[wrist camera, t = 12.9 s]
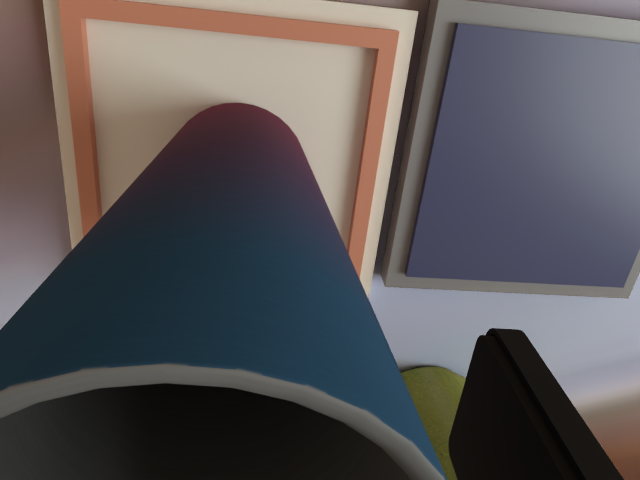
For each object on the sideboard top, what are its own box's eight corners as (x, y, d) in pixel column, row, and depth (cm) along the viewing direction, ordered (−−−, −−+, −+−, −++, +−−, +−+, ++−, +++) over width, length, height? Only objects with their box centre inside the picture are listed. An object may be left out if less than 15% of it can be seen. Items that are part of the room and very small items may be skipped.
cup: (322, 254, 21) (416, 719, 8) (150, 249, 20) (-69, 758, 7) (338, 82, 18) (533, 365, 5) (137, 68, 17) (-283, 364, 4)
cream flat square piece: (414, 10, 18) (422, 12, 17) (364, 303, 23) (368, 317, 22) (46, -32, 17) (32, -33, 16) (82, 290, 22) (73, 305, 21)
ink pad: (720, 30, 19) (749, 33, 18) (614, 286, 24) (632, 302, 23) (430, -4, 18) (442, -3, 17) (380, 274, 23) (386, 290, 21)
